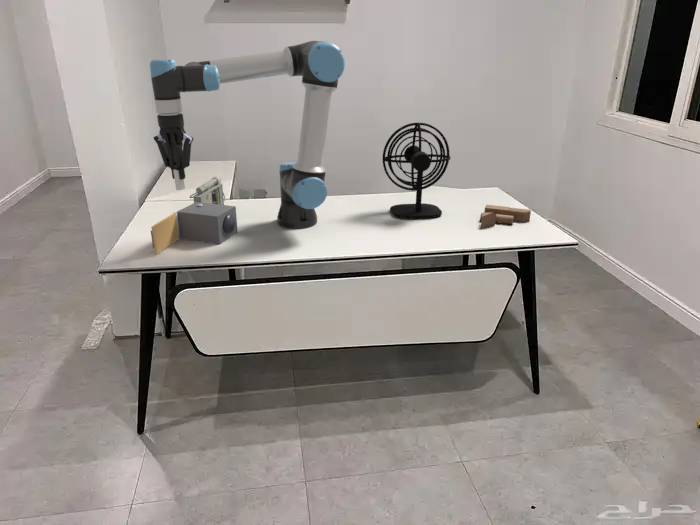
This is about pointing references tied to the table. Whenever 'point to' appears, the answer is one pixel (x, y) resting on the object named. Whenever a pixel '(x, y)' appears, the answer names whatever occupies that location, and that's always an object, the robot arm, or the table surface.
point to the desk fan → (419, 163)
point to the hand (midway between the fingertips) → (180, 188)
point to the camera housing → (207, 222)
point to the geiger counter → (210, 192)
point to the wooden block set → (503, 215)
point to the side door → (165, 232)
